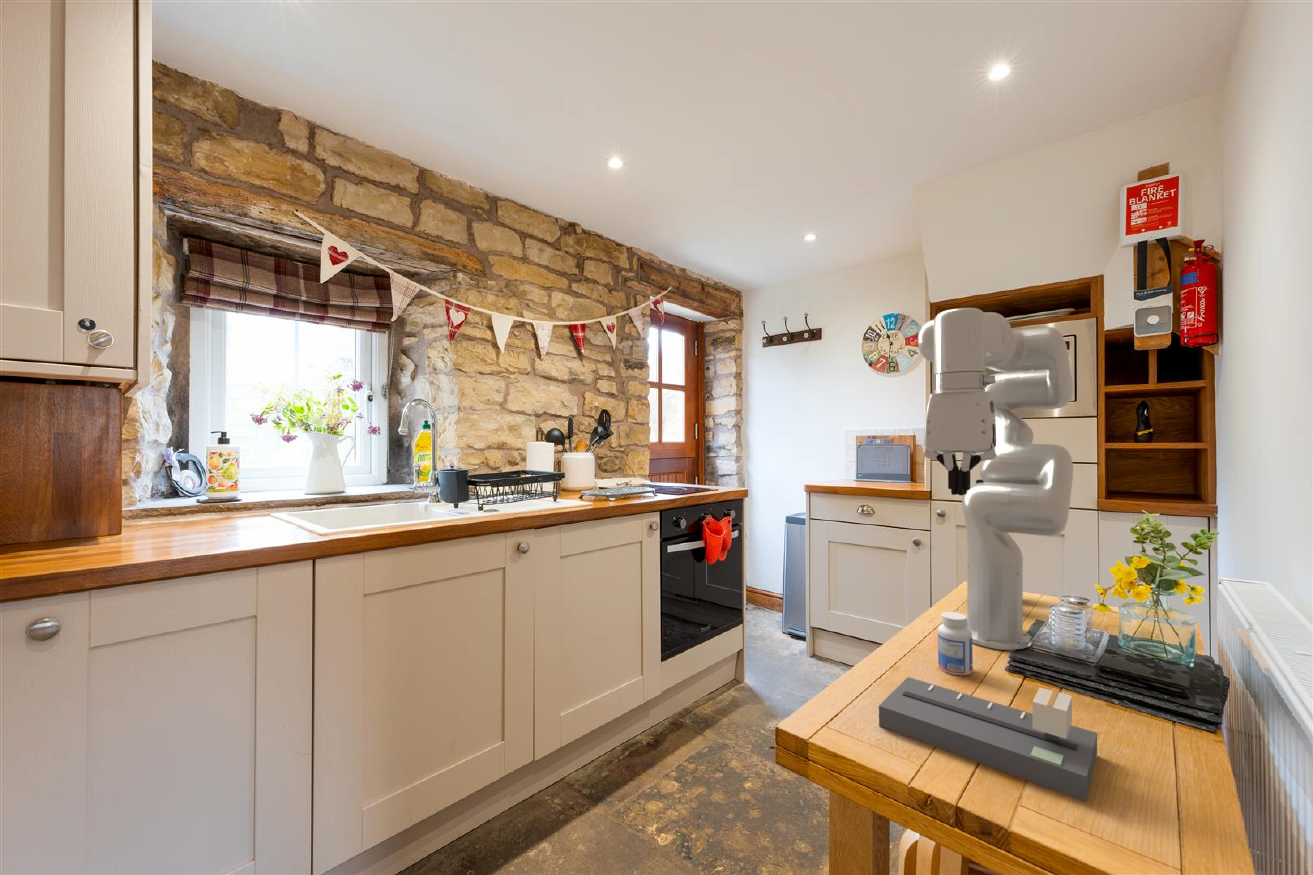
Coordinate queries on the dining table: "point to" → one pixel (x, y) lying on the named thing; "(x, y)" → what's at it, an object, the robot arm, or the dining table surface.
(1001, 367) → the robot arm
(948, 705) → the console
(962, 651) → the pill bottle
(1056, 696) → the fader
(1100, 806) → the dining table surface
